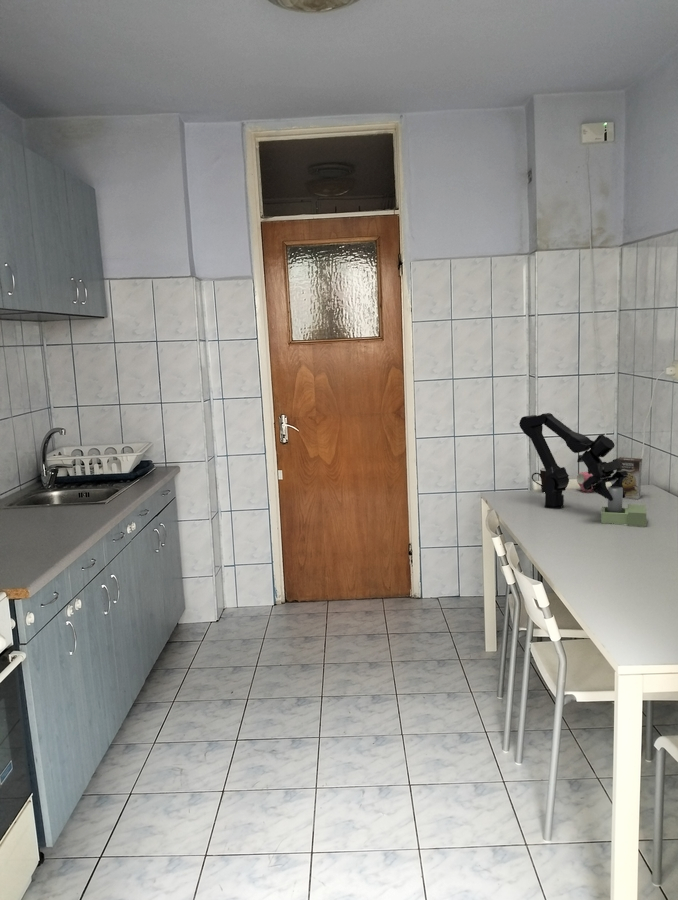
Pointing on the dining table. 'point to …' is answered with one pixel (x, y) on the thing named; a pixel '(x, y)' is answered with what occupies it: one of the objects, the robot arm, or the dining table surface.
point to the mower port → (626, 516)
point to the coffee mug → (542, 475)
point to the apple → (583, 479)
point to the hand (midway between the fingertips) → (618, 498)
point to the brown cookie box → (632, 477)
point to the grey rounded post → (615, 499)
